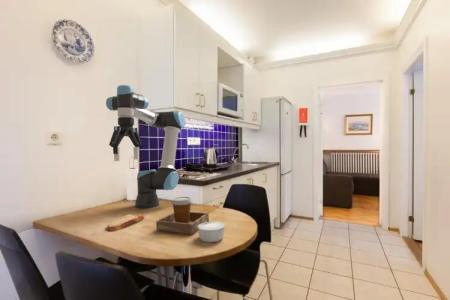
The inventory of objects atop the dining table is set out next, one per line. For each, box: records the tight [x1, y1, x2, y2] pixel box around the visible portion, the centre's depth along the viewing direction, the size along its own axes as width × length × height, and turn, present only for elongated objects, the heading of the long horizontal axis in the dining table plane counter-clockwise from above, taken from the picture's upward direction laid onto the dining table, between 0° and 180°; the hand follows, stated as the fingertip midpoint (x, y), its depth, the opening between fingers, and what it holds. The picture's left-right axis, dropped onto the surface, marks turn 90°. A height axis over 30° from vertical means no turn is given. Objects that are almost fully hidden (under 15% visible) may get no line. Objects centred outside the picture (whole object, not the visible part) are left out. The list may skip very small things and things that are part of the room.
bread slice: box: [106, 213, 145, 232], centre depth 120 cm, size 18×18×4 cm
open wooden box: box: [155, 211, 210, 236], centre depth 114 cm, size 18×18×4 cm
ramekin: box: [197, 221, 226, 243], centre depth 98 cm, size 11×11×5 cm
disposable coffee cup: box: [171, 196, 193, 223], centre depth 115 cm, size 10×10×12 cm
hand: (127, 160), depth 120 cm, fingers open, 13 cm apart
